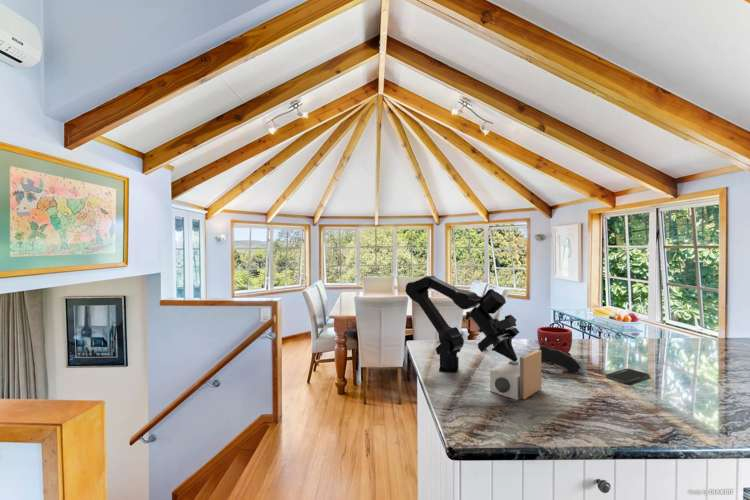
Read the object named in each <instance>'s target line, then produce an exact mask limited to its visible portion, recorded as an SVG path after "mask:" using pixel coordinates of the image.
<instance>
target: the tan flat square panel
mask: <svg viewBox="0 0 750 500" xmlns="http://www.w3.org/2000/svg"><path fill="white" fill-rule="evenodd" d="M519 362H520V398H519V399H520V400H526V399H527V398H529V397H530V396H532V395H534V394H535V393H536V392H538V391H540V390H541V389H542V364H541V350H539V349H537V350H534V351H533V352H531V353H530V352H529V354H527V355H524V356H520V357H519Z"/></svg>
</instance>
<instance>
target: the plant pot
mask: <svg viewBox="0 0 750 500" xmlns="http://www.w3.org/2000/svg"><path fill="white" fill-rule="evenodd" d="M536 331H537V332H536V334H537V343H538V345H539V347H540V346H546V347H548V348H551V349H556V350H560V351H562V352H564V353H566V354H568V355H570V356H571V357H572V354H571V353H570V351H571V349H572V345H573V332H572V331H573V330H572V329H569V328H565V327H559V326H558V327H557V326H541V327H538V328H537V330H536Z"/></svg>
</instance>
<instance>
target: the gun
mask: <svg viewBox="0 0 750 500" xmlns="http://www.w3.org/2000/svg"><path fill="white" fill-rule="evenodd" d="M538 350H541V365H543V363H545V364H547V365H550V366H552V365H554V364H556V365H558V366H560V367H561V368H563V369H565V370H567V371H569V372H571V373H572V374H578V373H579V371H580V372H583V371H584V369H583V368H582V367H581V365H580V363H578V362H577V360H576V359H575V358H573V356H572V355H571V356H570V355H568V354H566V353H564V352H562V351H560V350H556V349H551V348H548V347H546V346H539V348H538ZM548 361H550V362H548Z"/></svg>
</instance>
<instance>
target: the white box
mask: <svg viewBox="0 0 750 500" xmlns="http://www.w3.org/2000/svg"><path fill="white" fill-rule="evenodd" d="M489 371H490V372H489V373H490V374H489V377H490V379H489V383H490V385H489V391H490V392H491V391H492V393H494V392H495V394H497V393H498V395H501V396H503V397H507V398H510V399H513V400H519V399H520V361H518V360H517V361H515V362H514V361H512V360H511V359H509V360H508V361H506V362H503V363H501V364H499V365H498V366H495V367H493V368H491V369H489Z"/></svg>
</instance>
